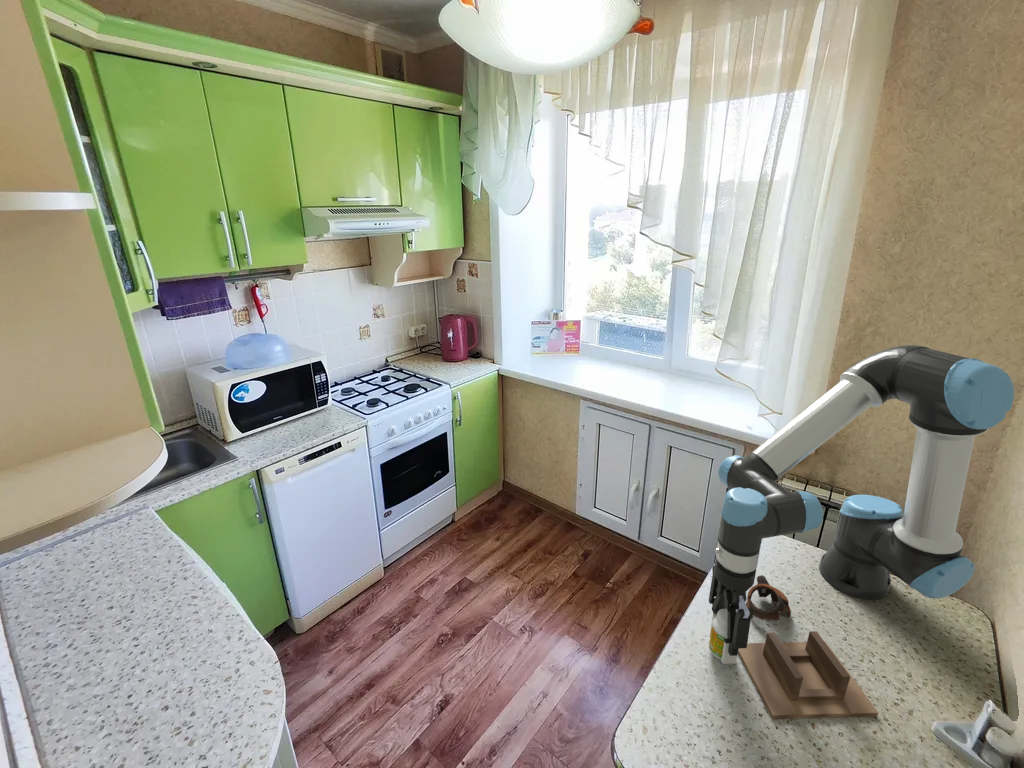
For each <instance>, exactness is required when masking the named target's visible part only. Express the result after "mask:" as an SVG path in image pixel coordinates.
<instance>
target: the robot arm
mask: <svg viewBox="0 0 1024 768" xmlns="http://www.w3.org/2000/svg"><path fill="white" fill-rule="evenodd" d="M896 399H897V400H898V401H900V402H904V403H906V404H909V406H910V408H909V415H908V420H909V422H910V423H911V425H913V426H914V427H915V428H916V433H915V439H914V446H913V452H912V459H911V467H910V473H909V479H908V485H907V492H906V498H905V505H904V510H903V507H901V505H900V504H898V503H897V502H894V501H892V500H891V499H888V498H885V497H881V496H877V495H871V494H854V495H849V496H848V497H846V498H845V499H844V501H843V504H842V507H841V508H840V510H839V516H838V520H837V525H836V527H835V533H834V538H833V542H832V544H831V545H830V546H829V548H828V549H827V551H826V552H825V553H824V554H823V555H822V556H821V558H820V561H819V566H818V568H819V569H818V570H819V572H820V575H821V576H822V578H823V579H824V580H825V581H826V582H827V583H829V584H830V585H831V586H832V587H834V588H836V589H837V590H839V591H841V592H842V593H845V594H847V595H850V596H853V597H856V598H860V599H864V600H880V599H883V598H885V597H887V596H888V595H889V594H890V593H889V592H890V589H891V586H892V581H891V575H890V573H892V574H893V575H894V576H896V577H897V578H898V579H899V580H901V582H902V581H903V582H904V583H905V584H906V585H907V586H909V587H910V588H911V589H913V590H915V591H917V592H918V593H920V594H921V595H923V596H924V597H926V598H929V599H933V600H934V599H935V600H936V599H942V598H946V597H948V596H951V595H953V594H955V593H957V591H959V590H960V589H962V588H963V587H964V586H965V585H967V583H968V582H969V581H970V580H971V578H972V576H973V574H974V572H975V569H976V567H975V564H974V563H973V562H972V561H971V560H970V558H969V557H967V556H964V555H963V553H962V551H963V547H964V540H963V537H962V536H961V535H960V534H959V532H957V527H958V526H957V525H958V520H959V517H960V510H961V506H962V501H963V497H964V493H965V492H964V491H965V487H966V483H967V477H968V473H969V466H970V462H971V458H972V452H973V448H974V443H975V438H976V437H979V436H981V435H984V434H985V433H987V431H988V430H989V429H990V428H993V427H995V426H997V425H998V424H1000V422H1002V421H1003V420H1004V419H1005V418H1006V412H1010V410H1011V409H1012V406H1013V403H1014V400H1015V385H1014V381H1013V380H1012V378H1011V376H1010V375H1009V374H1008V373H1007V372H1006V371H1005V370H1004V369H1003V368H1001V367H999V366H997V365H993V364H990V363H987V362H985V361H983V360H981V359H978V358H969V357H966V356H961V355H957V354H953V353H950V352H946V351H941V350H937V349H933V348H930V347H927V346H923V345H917V344H916V345H915V344H907V345H905V344H904V345H898V346H893V347H889V348H885V349H883V350H880V351H879V352H875V353H873V354H871V355H869V356H867V357H864V358H863V359H861V360H859V361H857V362H856V363H855V364H853V365H851V366H850V367H848V369H846V370H845V371H843V373H841V374H840V376H839V382H838V383H837V384H835V385H834V386H833V387H832V388H831V389H829V390H828V391H827V392H825V393H824V394H823V395H822V396H821V397H819V398H818V399H817V400H815V401H814V402H813V403H812V404H811V405H809V406H807V408H805V409H804V410H803V411H802V412H801V413H799V414H798V415H797V416H795V417H794V418H793V419H792V420H790V421H789V422H788V423H787V424H785V425H784V426H783V427H782V428H780V429H779V430H778V431H776V433H774V434H773V435H772V436H770V437H769V438H768V439H767V440H766V441H764V442H762V444H760V445H759V446H757V447H756V448H755V449H754V450H752V452H751V453H749V454H748V455H747V456H745V457H742V456H740V455H737V454H736V455H735V454H734V455H732V456H728V457H726V458H725V459H724V460H723V461H722V462H721V463H720V465H719V467H718V471H717V472H718V473H717V474H718V478H719V481H720V482H721V483H722V484H723V485H724V486H726V487H727V489H728V491H727V492H726V493H725V495H724V498H723V502H722V506H721V509H720V520H719V529H718V538H717V546H716V548H715V551H714V552H715V553H716V554H715V558H714V559H715V560H714V565H712V575H711V576H712V577H711V581H710V582H711V583H710V587H709V588H710V589H709V590H710V591H709V594H708V595H709V596H708V602H709V604H710V605H712V606H711V611H712V618H711V625H710V626H711V627H710V629H711V628H712V622H713V619H714V618H715V617H717V613H718V611H719V610H720V609H727V623H728V637H725V638H724V647H723V654H722V660H721V659H720V661H721V663H722V665H732V664H736V663H737V658H738V656H739V655H738V649H739V648H747V643H748V642H749V641H748V640H749V634H750V627H751V622H752V618H753V614H754V613H753V610H752V609H748V608H747V606H746V602H747V591H748V590H750V589H751V588H752V587H753V586H754V584H755V579H756V573H757V568H758V562H759V557H760V551H761V545H762V542H763V539H768V538H773V537H778V536H785V535H793V534H801V533H802V534H803V533H804V532H807V531H811V530H815V529H817V528H820V526H821V525H822V523H823V519H824V510H823V507H822V504H821V502H820V500H819V499H818V498H817V497H816V495H814V494H812V493H811V492H810V491H803V490H802V491H800V490H799V491H798V490H794V491H790V490H788V489H787V488H785V487H784V486H783V485H782V484H780V483H779V482H777V481H778V480H779V479H780V478H781V477H783V476H784V475H785V474H786V473H787V472H789V471H790V470H792V468H794V467H795V466H797V465H798V464H799V463H800V462H801V461H803V460H804V459H806V458H807V457H808V456H809V455H810V454H812V453H813V452H814V451H815V450H817V449H818V448H819V447H821V446H822V445H824V444H825V443H826V442H827V441H828V440H830V439H831V438H832V437H833V436H835V435H836V434H838V433H839V432H841V430H842V429H843V428H845V427H847V426H848V425H849V424H850V423H851V422H852V421H853V420H855V419H856V418H858V417H859V416H861V415H862V414H863V413H864V412H865V411H867V410H869V408H879V407H880V406H882V405H883V404H884V403H886V402H887V401H889V400H896ZM709 631H710V633H709V636H710V635H711V630H709Z"/></svg>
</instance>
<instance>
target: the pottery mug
mask: <svg viewBox="0 0 1024 768" xmlns="http://www.w3.org/2000/svg"><path fill="white" fill-rule="evenodd" d="M766 578H767V577H766V576H765V575H762V574H761V575H758V576H756V584H755V585H753V586H752V587H751V588H749V589H748V590H749V591H748V592H747V595H746V602H745V603H746V606H747V608H748V609H752V610H753V613H754V614H753V616H754V617H755V618H758V620H759V619H760V620H762V621H764V620H765V621H772V620H773V621H774V620H775V621H778V622H781V619H780V613H781V614H785V613H787V616H788V618H791V616H792V610H791V607H790V604H789V600H788V597H787V596H786V595H785V593H783V592H782V591H781V590H780V589H778V588H776V587H774V586H773V585H770V583H769V582H768V579H766ZM756 591H757V592H758V593H757V594H758V597H759V598H767V597H769V596H770V598H771V600H770V601H771V603H774V604H776V605H775V607H773V608H772V609H769V610H766V609H761V608H758V607H757V606H756V605H755V604H754V603H753V601H752V600H751V599H752V596H753V594H754V593H755V592H756Z"/></svg>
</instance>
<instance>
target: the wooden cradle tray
mask: <svg viewBox="0 0 1024 768" xmlns="http://www.w3.org/2000/svg"><path fill="white" fill-rule="evenodd" d="M737 656H738V657H739V659H740V660H741V664H742V665H743V666H744V669H745V670H746V672H747V674H748V676H749V678H750V679H751V681H752V684H753V685H754V687H755V690H756V691H757V693H758V695H759V696H760V698H761V699H760V700H761V701H762V702H763V704H764V706H765V709H766V710H767V713H768V714H769V716H770V718H771V719H772V720H789V719H792V720H793V719H822V718H823V719H826V718H828V719H829V718H830V719H831V718H834V719H835V718H866V717H869V718H870V717H878V716H879V711H878V710H877V708H876V707H875V706H874V704H872V702H871V700H870V699H869V698H868V697H867V695H866V694H865V693H864V691H863V690H862V688H861V687H860V686H859V685H858V683H857V682H856V681H855V679H854V678H853V676H852V675H851V674H850V673H849V671H848V670H847V669H846V667H845V666H844V664H843V663H842V662H841V660H840V659H839V657H837V655H836V654H835V652H834V651H833V650H832V648H831V647H830V646H829V644H828V643H827V641H825V640H824V639H823V638H822V636H821V635H820V634H819V632H818V631H815V630H814V631H809V633H808V638H807V641H789V642H787V641H786V642H785V641H784V642H782V641H780V639H779V638H778V635H776V632H773V631H772V632H766V636H765V640H764V642H749V643H748V642H747V648H739V649H738V655H737Z"/></svg>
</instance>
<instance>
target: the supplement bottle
mask: <svg viewBox="0 0 1024 768" xmlns="http://www.w3.org/2000/svg"><path fill="white" fill-rule="evenodd" d="M711 624H712V628H711V627H710V631H711V635H710V634H709V642H708V643H709V644H708V646H709V647H708V648H709V651H710V652H711V654H712V656H714V657H715V658H717V659H718V660H720V661H721V660H722V654H723V647H724V638H725V637H728V623H727V609H720V610H719V611H718V613H717V617H715V618H714V619H713V622H712V621H711Z"/></svg>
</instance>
